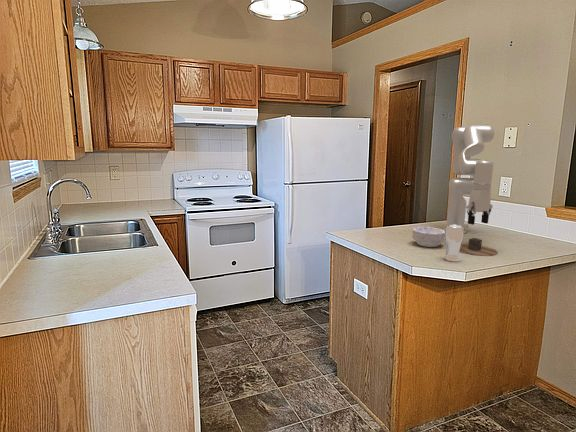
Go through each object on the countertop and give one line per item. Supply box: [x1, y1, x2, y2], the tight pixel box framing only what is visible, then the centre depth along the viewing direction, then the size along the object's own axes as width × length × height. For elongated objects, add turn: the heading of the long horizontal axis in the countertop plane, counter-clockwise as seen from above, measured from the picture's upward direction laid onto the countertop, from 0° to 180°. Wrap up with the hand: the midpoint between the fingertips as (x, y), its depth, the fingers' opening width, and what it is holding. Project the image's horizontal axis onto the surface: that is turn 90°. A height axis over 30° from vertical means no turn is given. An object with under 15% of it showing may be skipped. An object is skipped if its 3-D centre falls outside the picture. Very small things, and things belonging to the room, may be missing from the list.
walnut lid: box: [459, 237, 499, 257], centre depth 185 cm, size 20×20×6 cm
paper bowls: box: [411, 226, 446, 248], centre depth 192 cm, size 15×15×8 cm
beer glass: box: [444, 225, 464, 263], centre depth 167 cm, size 7×7×15 cm
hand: (477, 223), depth 182 cm, fingers open, 9 cm apart
